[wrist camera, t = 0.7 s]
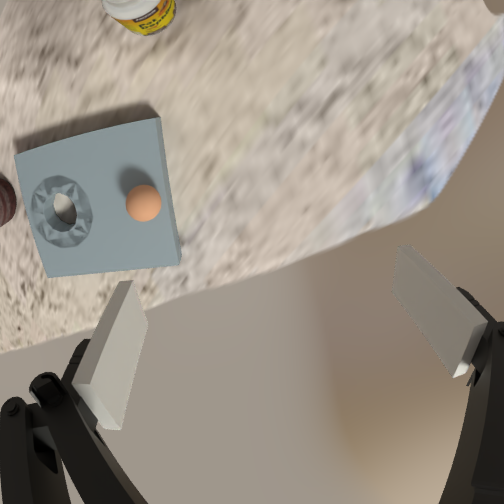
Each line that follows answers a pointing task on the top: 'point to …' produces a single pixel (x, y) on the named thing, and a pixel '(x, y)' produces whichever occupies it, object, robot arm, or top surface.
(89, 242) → the board
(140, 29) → the supplement bottle
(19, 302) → the top surface
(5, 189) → the can
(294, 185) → the top surface
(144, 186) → the ball
